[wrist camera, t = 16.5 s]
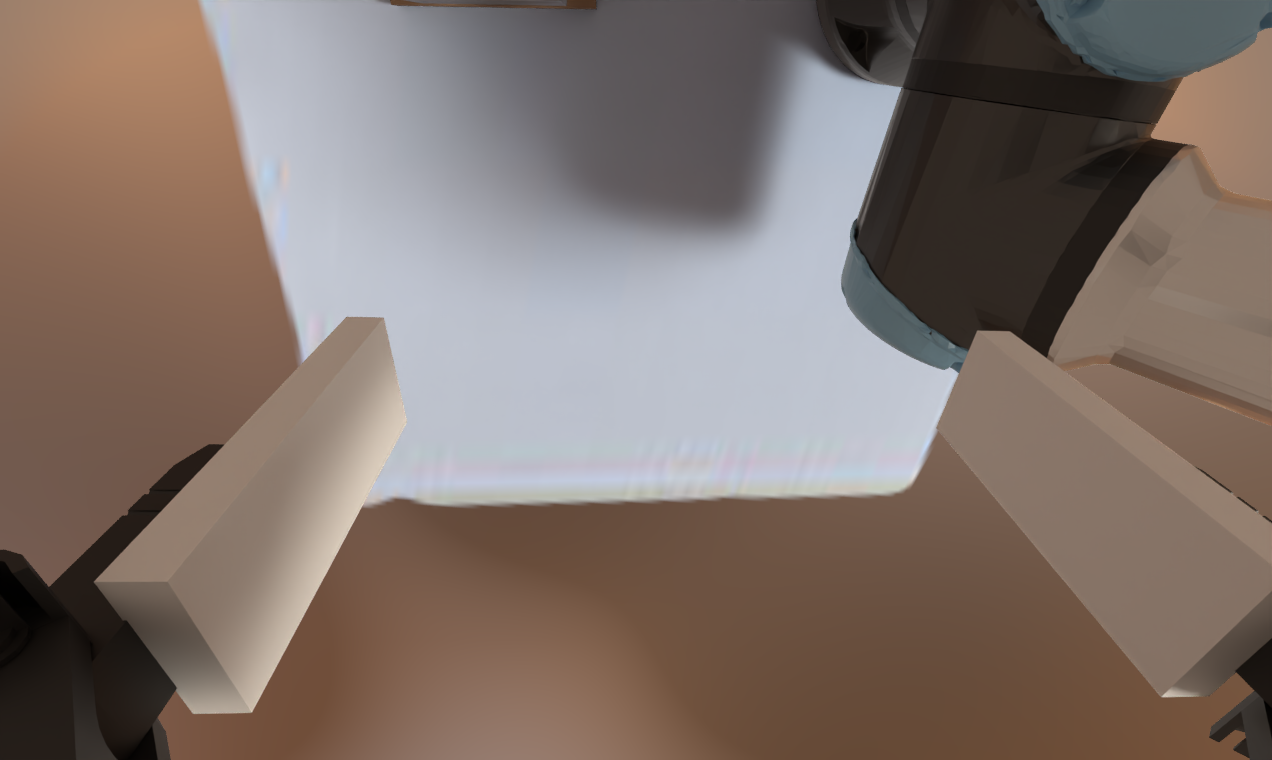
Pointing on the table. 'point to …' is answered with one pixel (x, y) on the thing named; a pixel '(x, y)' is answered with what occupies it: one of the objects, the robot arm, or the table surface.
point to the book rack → (502, 3)
